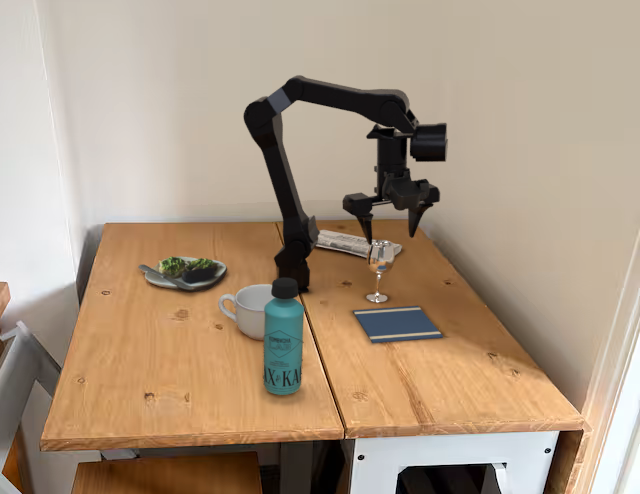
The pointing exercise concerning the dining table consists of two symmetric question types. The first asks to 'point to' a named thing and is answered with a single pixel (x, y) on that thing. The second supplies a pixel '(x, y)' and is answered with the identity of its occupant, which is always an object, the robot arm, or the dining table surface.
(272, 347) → the beverage bottle
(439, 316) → the dining table surface
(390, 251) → the wineglass
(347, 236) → the newspaper
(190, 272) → the salad plate
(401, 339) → the napkin
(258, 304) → the teacup
